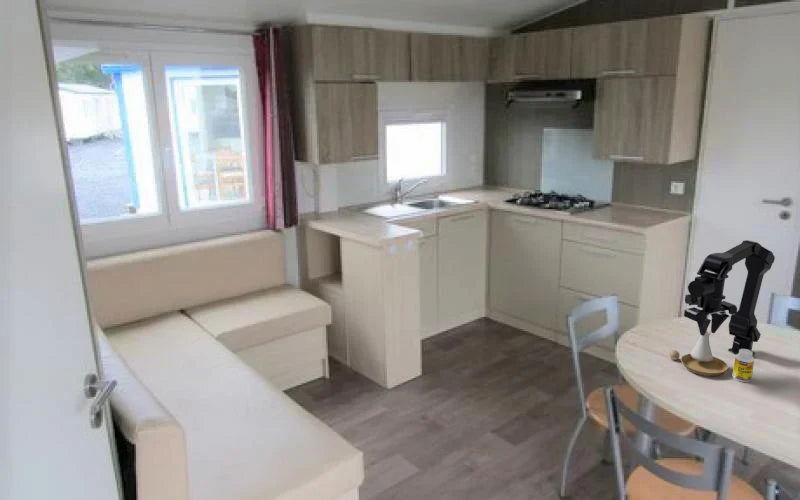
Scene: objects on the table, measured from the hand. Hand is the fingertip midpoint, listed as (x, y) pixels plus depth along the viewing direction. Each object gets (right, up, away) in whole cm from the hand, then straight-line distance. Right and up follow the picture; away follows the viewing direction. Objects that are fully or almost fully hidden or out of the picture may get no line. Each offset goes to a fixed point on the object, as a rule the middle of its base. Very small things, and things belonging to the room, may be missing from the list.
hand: (707, 334), depth 202 cm
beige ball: (-7, -9, +10) cm, 15 cm away
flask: (+1, -9, +6) cm, 11 cm away
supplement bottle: (+9, -15, -4) cm, 18 cm away
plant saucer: (0, -13, +3) cm, 14 cm away
